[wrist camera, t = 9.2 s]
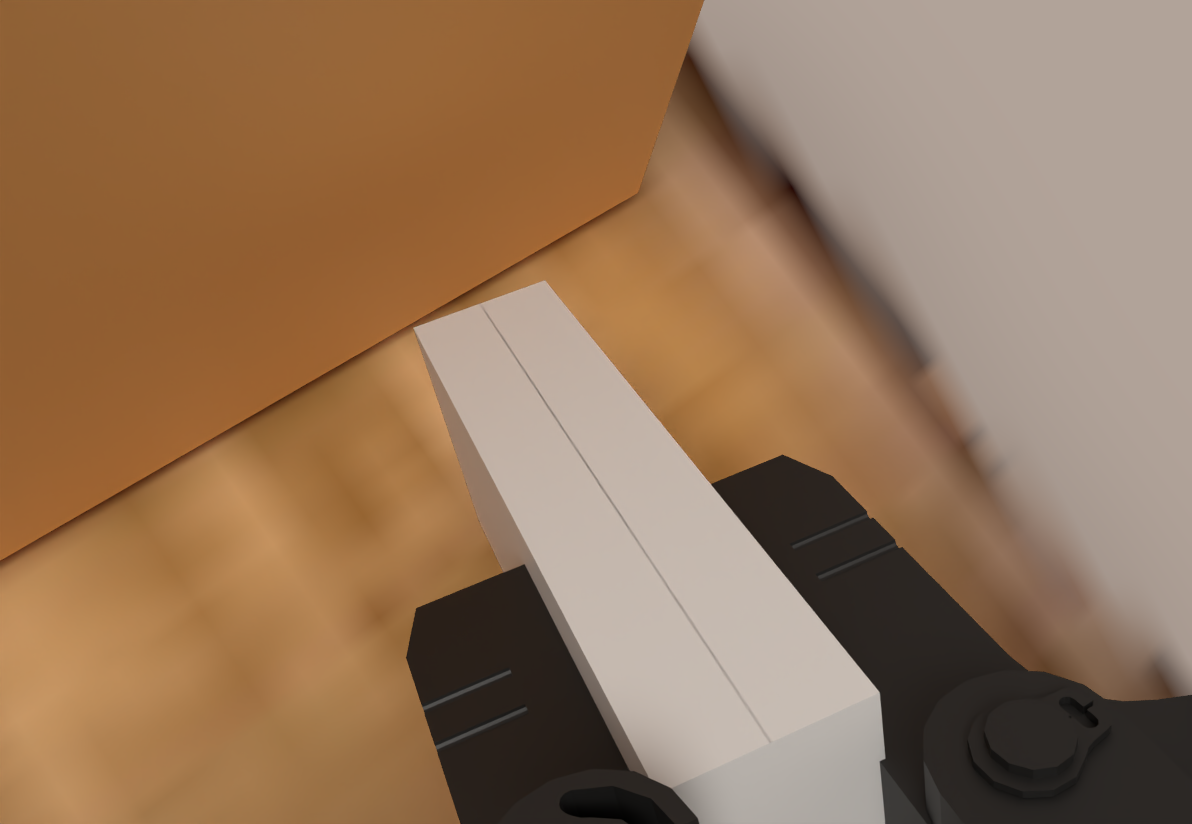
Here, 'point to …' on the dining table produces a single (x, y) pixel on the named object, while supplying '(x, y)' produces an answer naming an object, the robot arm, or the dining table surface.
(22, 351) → the hatch
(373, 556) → the dining table surface
